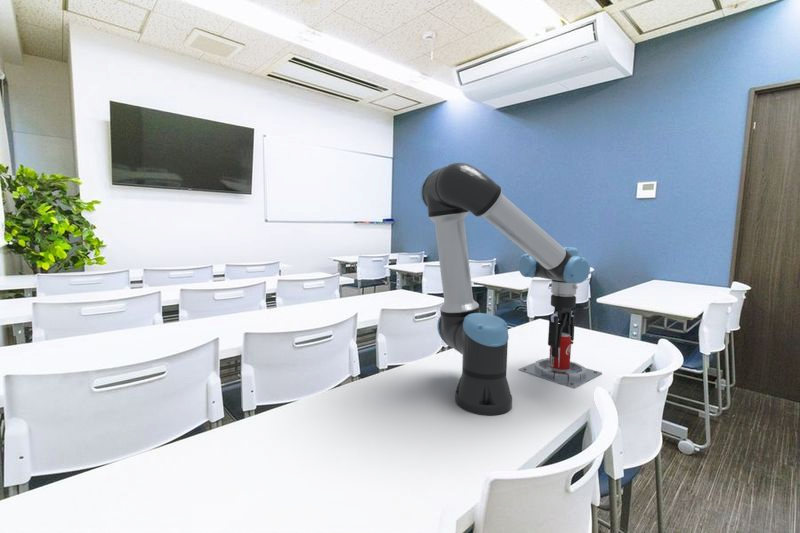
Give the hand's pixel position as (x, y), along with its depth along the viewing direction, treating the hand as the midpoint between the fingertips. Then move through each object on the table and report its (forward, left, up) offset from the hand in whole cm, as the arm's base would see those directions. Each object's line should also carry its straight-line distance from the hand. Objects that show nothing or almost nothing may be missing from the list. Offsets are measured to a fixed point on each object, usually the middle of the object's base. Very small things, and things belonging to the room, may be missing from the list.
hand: (559, 364), depth 128 cm
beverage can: (0, 0, -2) cm, 2 cm away
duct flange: (0, 0, -3) cm, 3 cm away
